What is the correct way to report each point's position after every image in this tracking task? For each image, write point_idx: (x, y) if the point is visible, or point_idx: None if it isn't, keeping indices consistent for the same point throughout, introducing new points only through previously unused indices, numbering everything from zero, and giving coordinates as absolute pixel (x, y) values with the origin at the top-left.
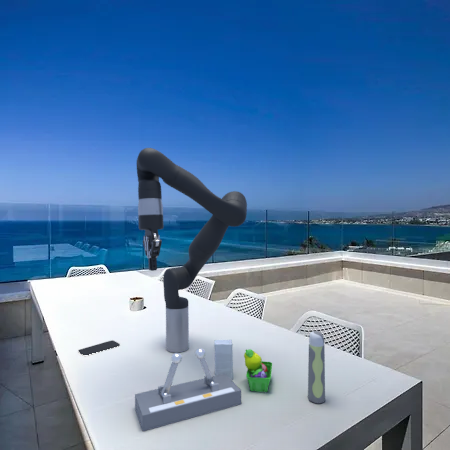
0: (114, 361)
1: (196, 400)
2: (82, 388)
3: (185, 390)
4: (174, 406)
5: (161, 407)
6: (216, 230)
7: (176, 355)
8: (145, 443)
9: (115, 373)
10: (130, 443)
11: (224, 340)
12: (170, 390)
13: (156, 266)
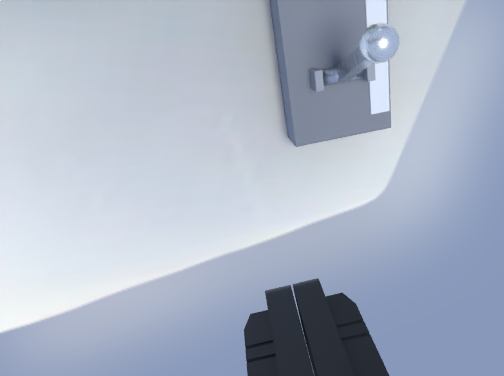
0: (8, 208)
1: None
2: (166, 260)
3: (321, 9)
4: None
5: (380, 84)
6: None
7: (395, 46)
8: (412, 114)
9: (95, 197)
10: (401, 141)
11: None
12: (307, 53)
13: (326, 303)
